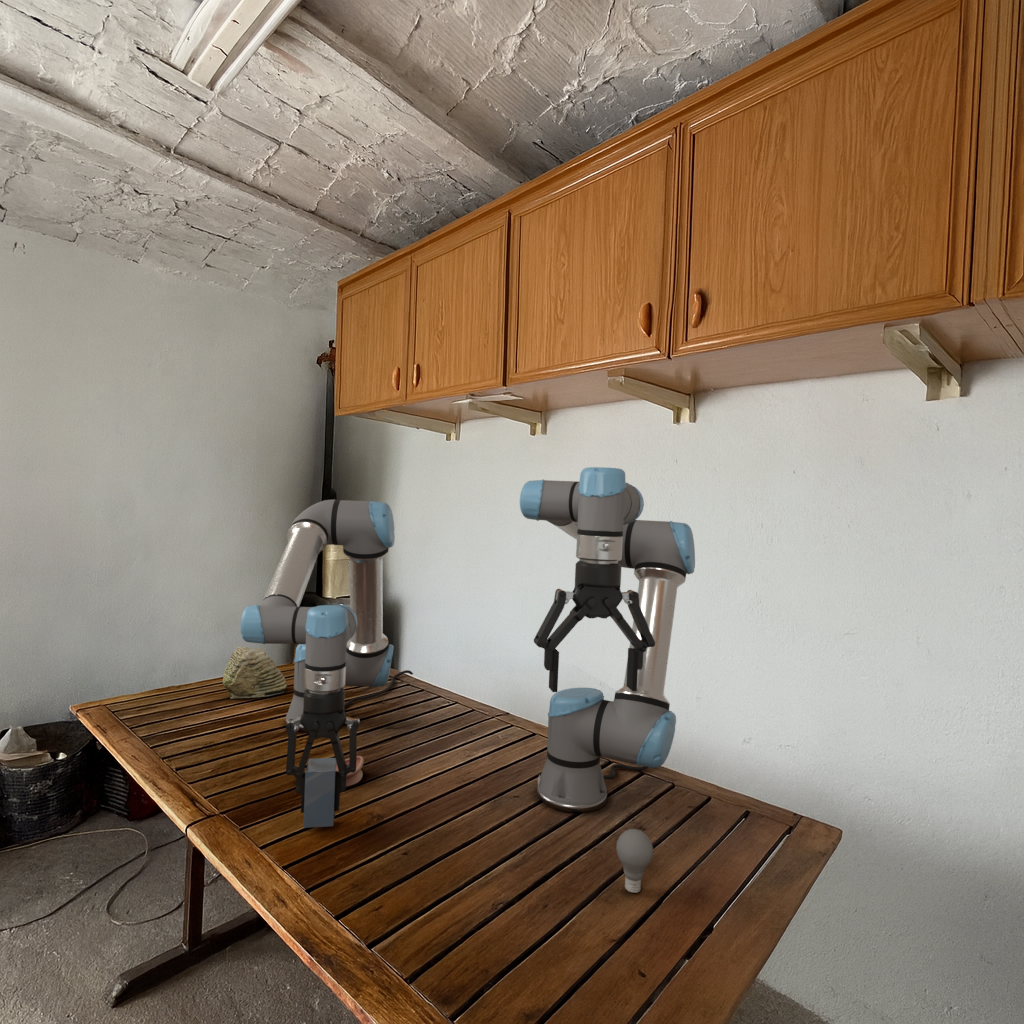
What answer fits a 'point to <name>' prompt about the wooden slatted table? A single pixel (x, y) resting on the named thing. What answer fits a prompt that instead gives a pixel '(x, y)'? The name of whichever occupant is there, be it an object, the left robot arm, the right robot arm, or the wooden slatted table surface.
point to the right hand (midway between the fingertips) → (592, 689)
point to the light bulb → (634, 857)
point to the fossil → (252, 674)
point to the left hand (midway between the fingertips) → (320, 808)
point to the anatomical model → (355, 776)
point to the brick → (320, 792)
